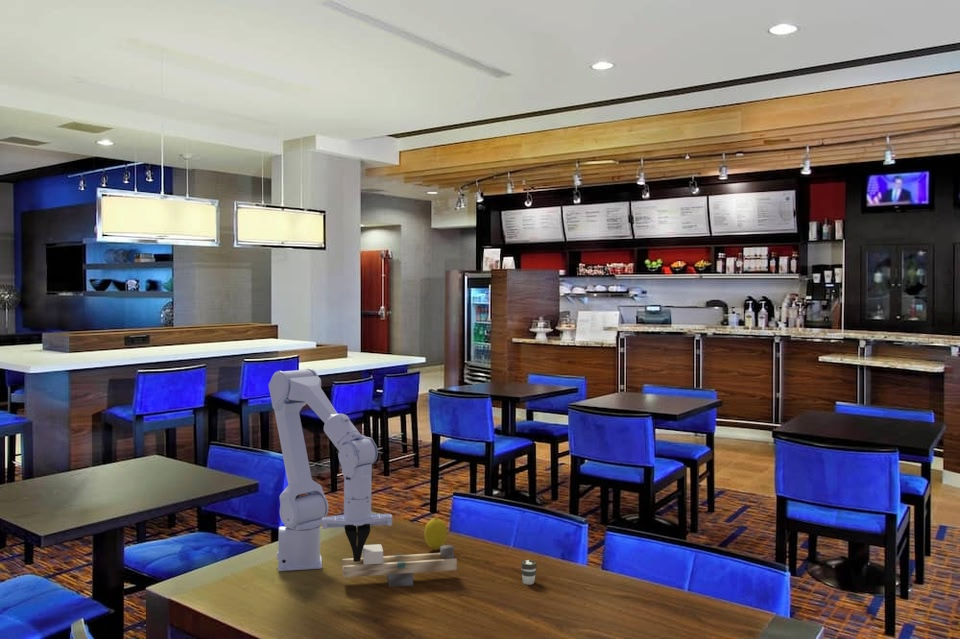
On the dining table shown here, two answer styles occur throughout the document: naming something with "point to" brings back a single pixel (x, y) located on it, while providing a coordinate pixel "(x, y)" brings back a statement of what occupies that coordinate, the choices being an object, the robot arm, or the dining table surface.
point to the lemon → (435, 533)
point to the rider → (372, 554)
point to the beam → (403, 566)
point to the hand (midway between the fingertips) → (356, 560)
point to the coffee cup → (528, 571)
